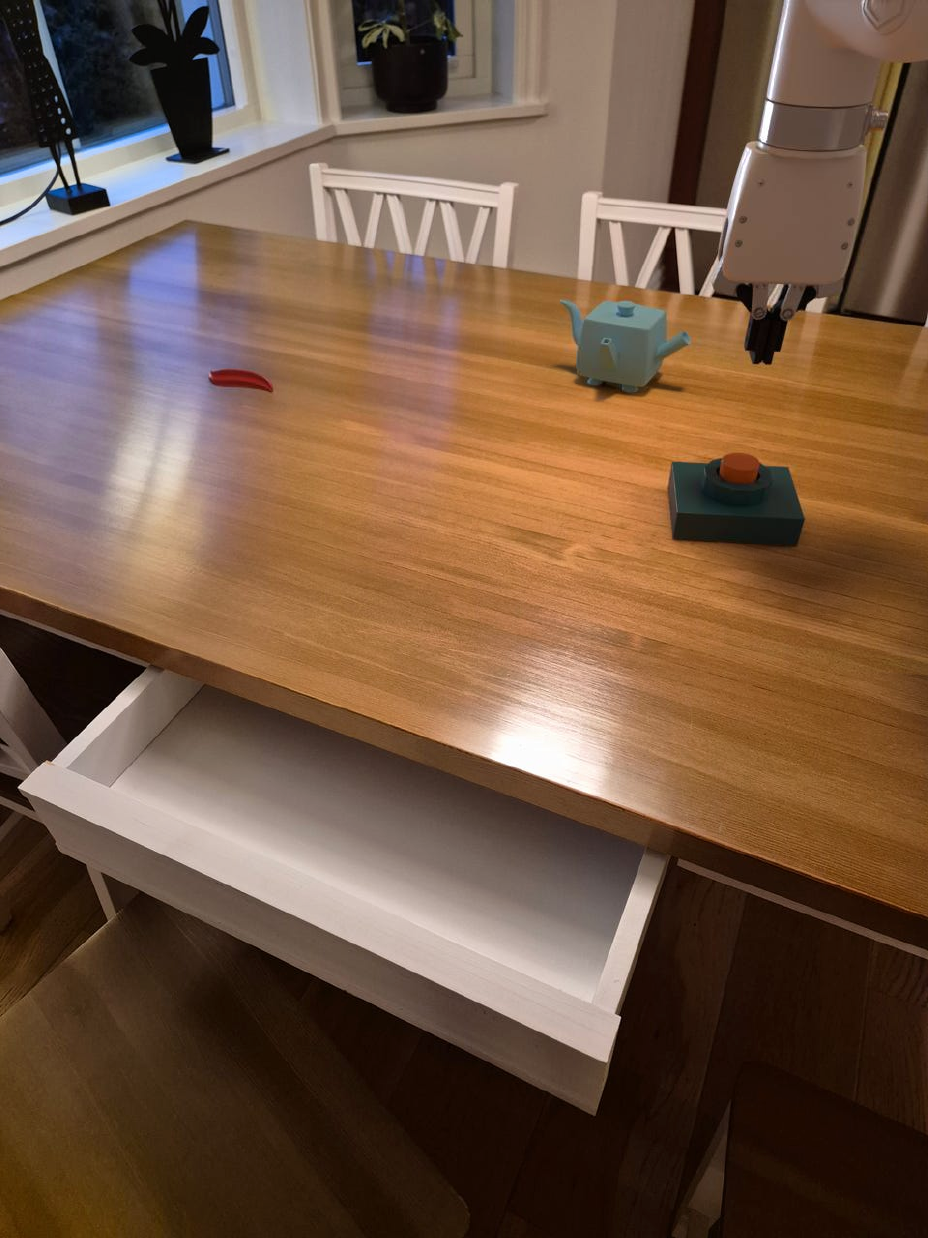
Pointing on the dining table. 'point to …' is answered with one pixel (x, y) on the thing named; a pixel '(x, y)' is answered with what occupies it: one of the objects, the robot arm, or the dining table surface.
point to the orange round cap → (739, 468)
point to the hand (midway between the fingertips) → (759, 357)
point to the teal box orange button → (734, 505)
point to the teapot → (622, 343)
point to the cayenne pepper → (239, 379)
